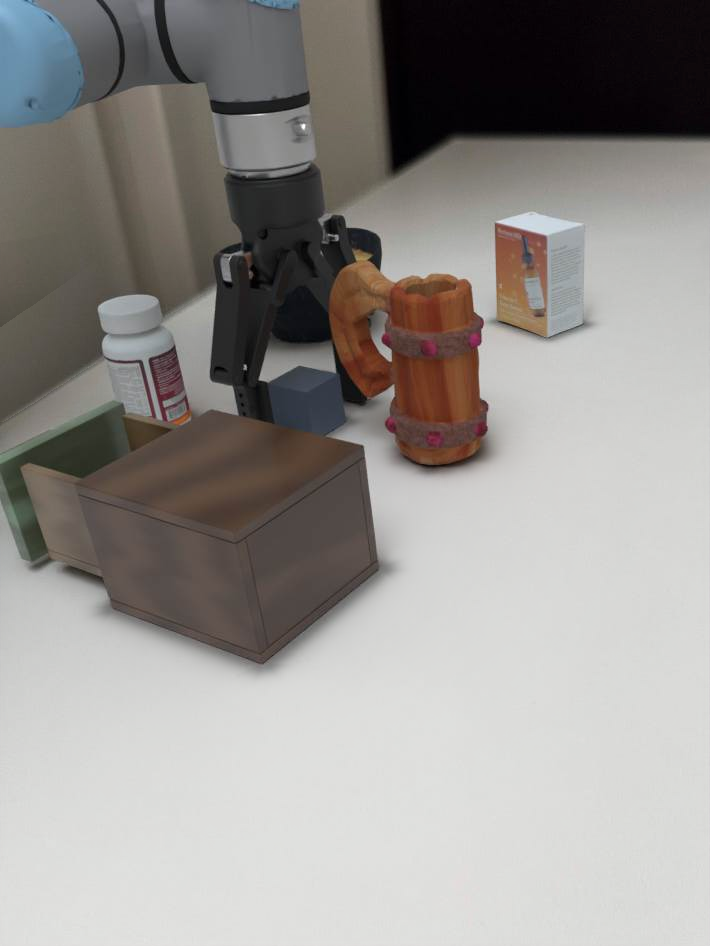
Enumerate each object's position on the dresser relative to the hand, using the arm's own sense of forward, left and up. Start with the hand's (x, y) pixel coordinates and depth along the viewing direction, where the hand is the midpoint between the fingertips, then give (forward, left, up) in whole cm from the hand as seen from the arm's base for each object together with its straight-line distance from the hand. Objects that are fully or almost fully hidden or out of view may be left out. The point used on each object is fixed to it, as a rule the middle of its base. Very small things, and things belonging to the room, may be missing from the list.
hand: (311, 425), depth 95 cm
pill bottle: (-13, -6, 0) cm, 15 cm away
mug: (+11, +1, 0) cm, 11 cm away
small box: (+6, +32, 0) cm, 33 cm away
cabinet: (+13, -23, 0) cm, 26 cm away
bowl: (-16, +20, 0) cm, 26 cm away
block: (0, 0, 0) cm, 0 cm away
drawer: (0, -23, +1) cm, 23 cm away
